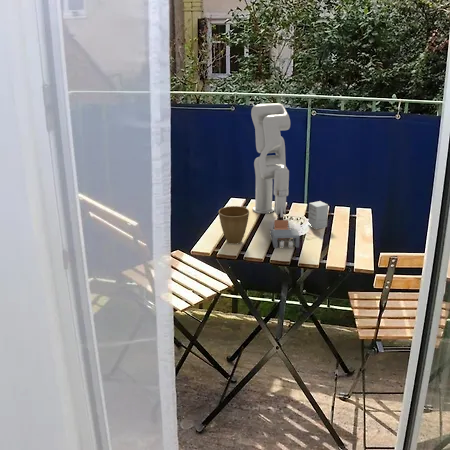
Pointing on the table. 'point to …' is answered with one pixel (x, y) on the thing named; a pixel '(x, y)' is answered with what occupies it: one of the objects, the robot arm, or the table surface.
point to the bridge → (285, 234)
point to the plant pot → (234, 223)
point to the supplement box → (318, 214)
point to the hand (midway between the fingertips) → (280, 225)
